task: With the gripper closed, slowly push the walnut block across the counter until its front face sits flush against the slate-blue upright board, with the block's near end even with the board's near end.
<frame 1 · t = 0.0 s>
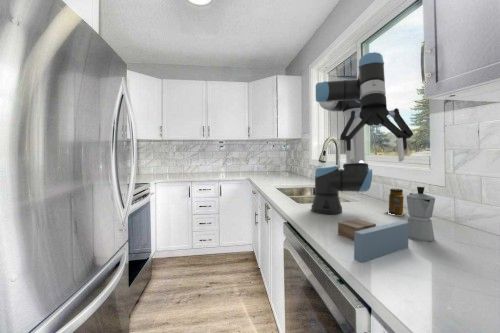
hand: (376, 160, 75), 28 cm above the countertop, tool tilted 20°, fingers open, 13 cm apart
slate board: (382, 253, 74), on the countertop
coffee maker: (417, 236, 88), on the countertop
walnut block: (356, 236, 89), on the countertop
condiment: (394, 214, 119), on the countertop
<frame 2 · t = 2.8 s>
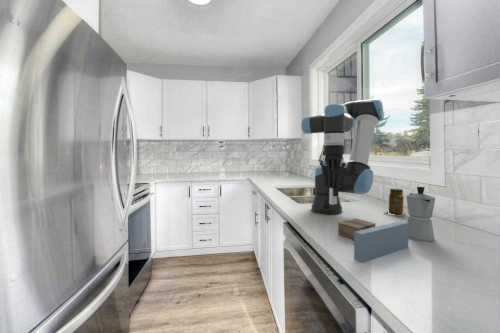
hand: (333, 204, 98), 10 cm above the countertop, tool pointing down, fingers closed
nothing on the countertop moved.
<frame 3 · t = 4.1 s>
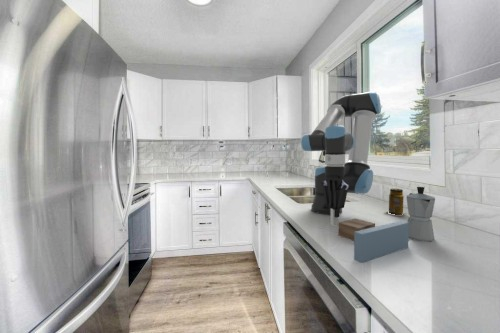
hand: (334, 224, 98), 1 cm above the countertop, tool pointing down, fingers closed
nothing on the countertop moved.
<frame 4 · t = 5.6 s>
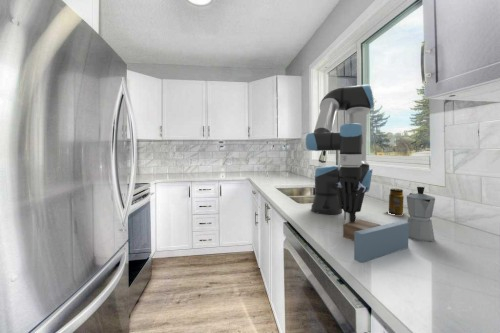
hand: (349, 229, 91), 2 cm above the countertop, tool pointing down, fingers closed
walnut block: (361, 238, 87), on the countertop, touching gripper
everything else where it was.
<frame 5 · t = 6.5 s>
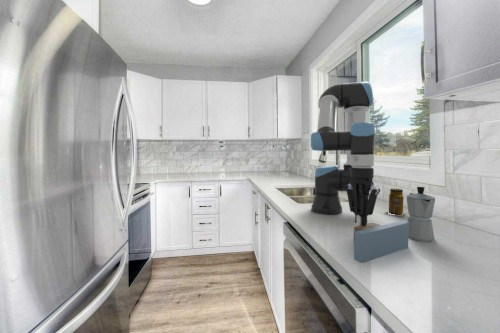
hand: (360, 233, 87), 2 cm above the countertop, tool pointing down, fingers closed
walnut block: (373, 242, 83), on the countertop, touching gripper
everything else where it was.
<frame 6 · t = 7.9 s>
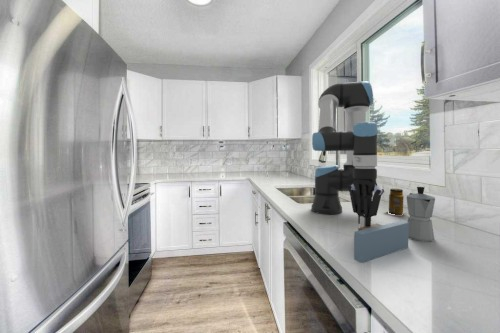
hand: (364, 234, 86), 1 cm above the countertop, tool pointing down, fingers closed
walnut block: (378, 243, 82), on the countertop, touching gripper
everything else where it was.
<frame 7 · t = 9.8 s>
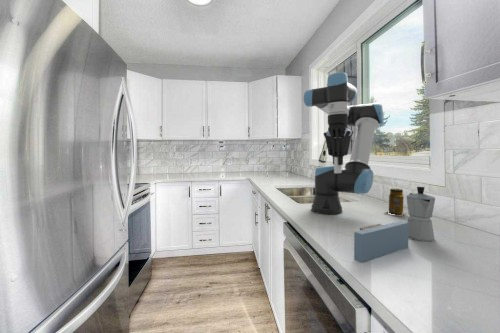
hand: (337, 172, 100), 22 cm above the countertop, tool pointing down, fingers closed
walnut block: (380, 243, 82), on the countertop
everything else where it was.
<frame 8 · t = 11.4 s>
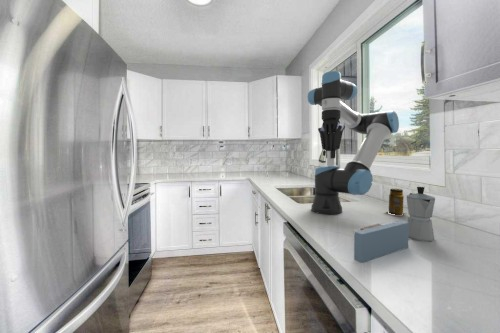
hand: (330, 166, 105), 24 cm above the countertop, tool pointing down, fingers closed
nothing on the countertop moved.
at the end: walnut block 1.0 cm from the target spot on the countertop beside the slate board, on the countertop; walnut block tilted 0° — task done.
